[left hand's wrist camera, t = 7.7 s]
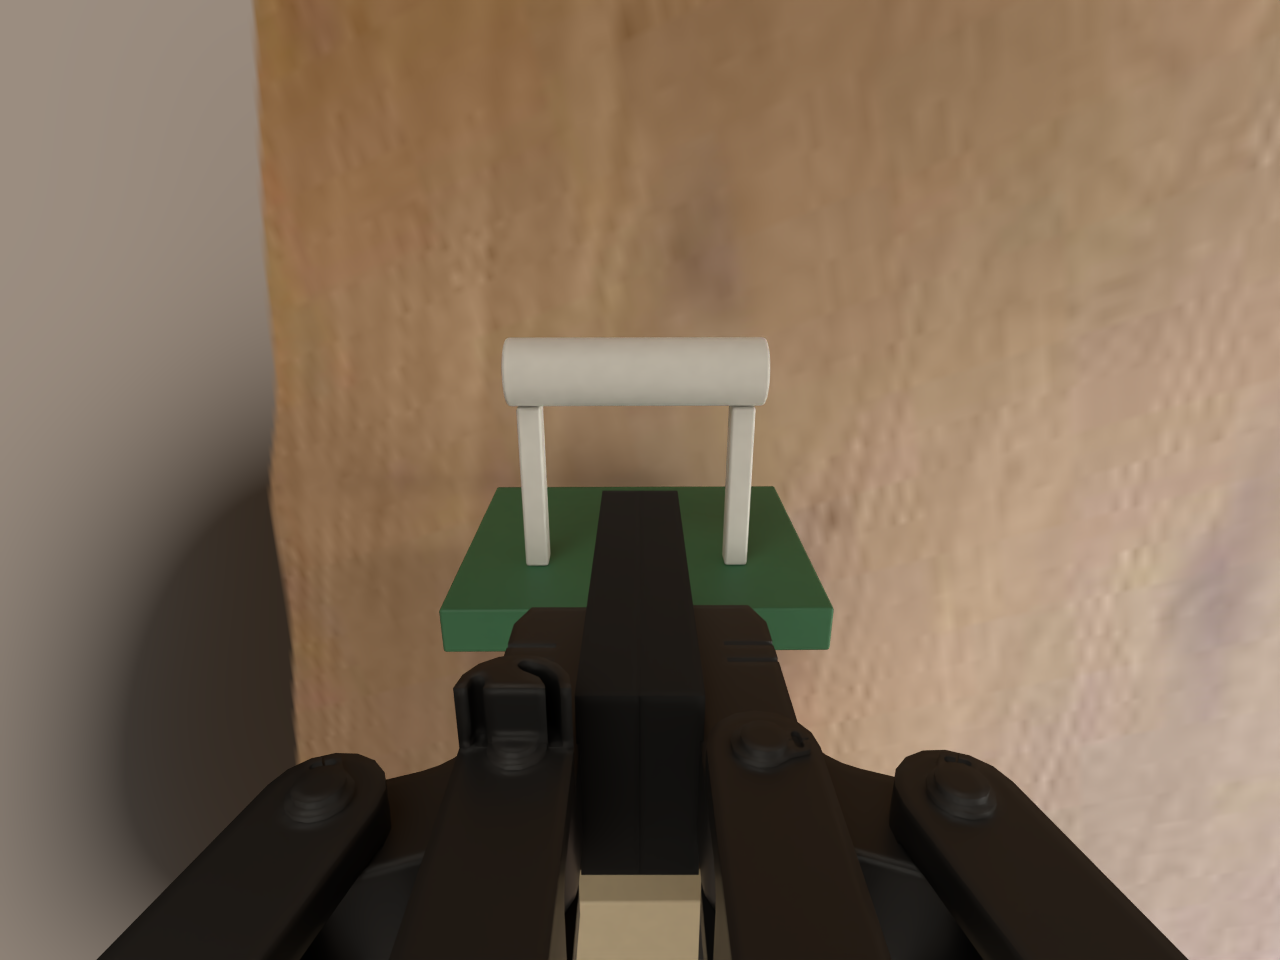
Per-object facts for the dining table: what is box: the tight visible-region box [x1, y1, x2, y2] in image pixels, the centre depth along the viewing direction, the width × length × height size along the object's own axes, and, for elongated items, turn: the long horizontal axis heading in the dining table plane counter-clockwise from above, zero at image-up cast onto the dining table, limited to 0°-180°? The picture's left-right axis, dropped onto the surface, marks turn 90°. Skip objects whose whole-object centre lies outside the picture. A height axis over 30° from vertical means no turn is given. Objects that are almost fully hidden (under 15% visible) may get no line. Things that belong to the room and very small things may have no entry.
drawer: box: [439, 337, 834, 870], centre depth 23 cm, size 24×10×8 cm, turn 0°
